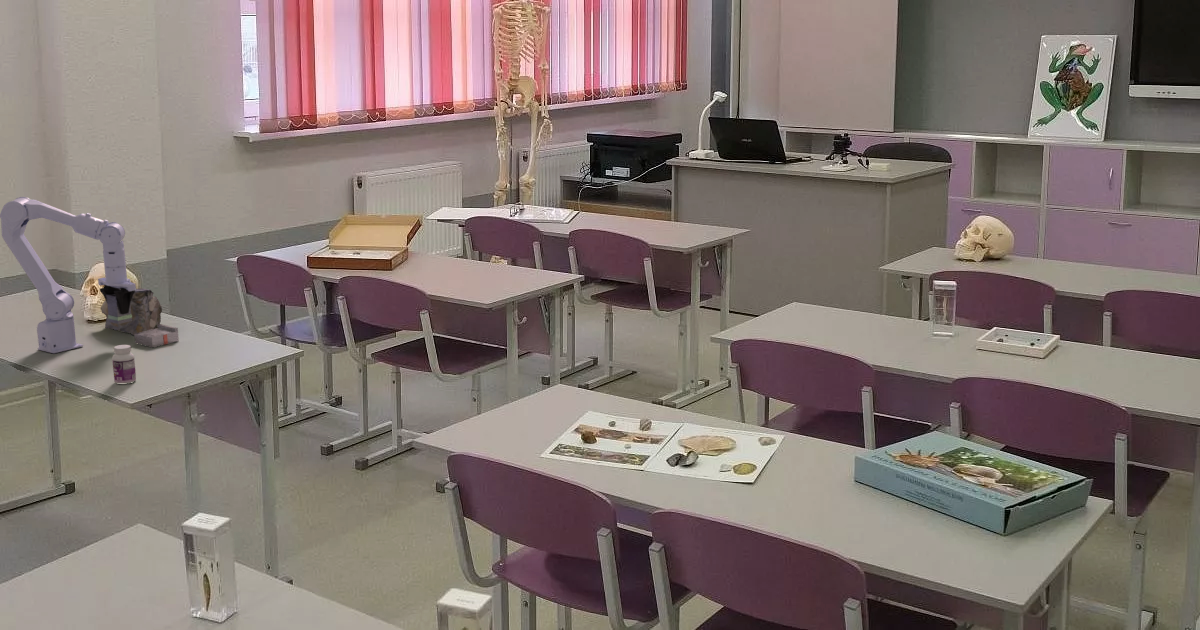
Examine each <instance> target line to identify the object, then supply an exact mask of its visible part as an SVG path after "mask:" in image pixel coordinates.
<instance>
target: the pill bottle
mask: <svg viewBox="0 0 1200 630" xmlns="http://www.w3.org/2000/svg"><path fill="white" fill-rule="evenodd" d="M131 347H132V346H131V345H130V344H119V345H115V346H114V348H113V350H114V351H113V352H114V354H113V355H112V357H111V360H112V361H111V362H112V371H113V380H114V384H116V383H131V382H134V381H135V382H136V381H137V374H136V373H137V372H136V362H135V355H134V354H133V353H132V348H131ZM135 382H134V383H135Z"/></svg>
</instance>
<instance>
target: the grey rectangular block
mask: <svg viewBox="0 0 1200 630" xmlns="http://www.w3.org/2000/svg"><path fill="white" fill-rule="evenodd" d="M106 297H107V305H108V319H109V322H112V323H116V324H121V323H125V322H130V321H132V314H131V305H130V308H129V313H127V314H121V312H120V309H119V303H118V300H117V297H116V295H115V293H112V294H107V295H106Z"/></svg>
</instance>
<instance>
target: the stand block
mask: <svg viewBox="0 0 1200 630" xmlns="http://www.w3.org/2000/svg"><path fill="white" fill-rule="evenodd" d="M157 326H158V328H156V329H152V330H147V331H143V332H139V333H135V334H134V344H135V343H138V344H137V345H139V344H142V345H141V346H143V345H146V346H145V347H147V346H150V347H149V348H152V347H154V348H157V346H158V347H161V346H165V345H169V344H173V343H177V342H179V340H180V338H179V327H175V326H170V325H166V324H162V323H160V324H158V325H157ZM160 345H161V346H160Z"/></svg>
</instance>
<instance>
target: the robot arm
mask: <svg viewBox="0 0 1200 630" xmlns="http://www.w3.org/2000/svg"><path fill="white" fill-rule="evenodd" d="M37 219H46V220H50V221H52V222H55V223H59V224H62V225H65V226H69V227H71V229H72V230H73V231H74V232H75V233H76V234H78V235H79V234H80V235H82V236H85V237H88V238H91V239H94V240H97V241H98V240H99V241H100V243H101V244H102V250H103V251H102V254H103V266H104V276H105V277H100V278H99V277H98V278H97V280H98V281H97V283H98V286H103V287H101V288H99V292H100V293H101V294H102V296H103V297H104V300H106V302H107V297H106V295H107V294H112V293H115V295H116V297H117V300H118V303H119V309H120V312H121V314H127V313H129V308H130V303H131V299H132V296H133V294H134V293H135V290H136V289H137V287H136V283H134V282H132V281H131V278H128V276H127V275H128V273H127V263H126V251H125V245H124V237H125V235H126V232H125V228H124V227H123V226H122V224H119V223H118V222H116V221H112V222H111V221H109V220H108V219H104V220H103V219H101V218H97V217H95V216H92V213H89V212H87V213H79V214H77V215H75V214H72V213H70V212H69V211H68V212H67V211H65V210H63V209H60V208H57V207H55V206H52V205H50V204H48V203H44V202H42V201H39V200H38V199H31V198H29V197H28V196H27V197H26V196H19V197H16V198H15V199H13V200H11V201H8V202H6V203H5V204H4V205H3V207H2V209H1V211H0V222H1V225H0V226H1V237H2V239H3V241H4V242H5V244H6V245H7V247H8V248H9V250H10V252H11V253H12V254H13V256H14V258H15V259H16V260H17V262H18V263H19V265H20V266H21V268H22V269H23V272H24V273H25V274H26V275H27V277H28V279H29V280H30V282H31V283H32V284H33V286H34V287H35V289H36V290H37V293H38V301H39V302H40V304H41V307H42V313H43V314H44V315H45V320H43V321H40V322H39V323H37V327H36V331H37V332H36V333H37V342H38V347H37V350H38V351H41V352H42V351H43V352H46V353H49V354H50V353H51V354H57V353H61V352H62V353H63V352H65V351H70V350H73V349H78V348H83V346H84V344H83V343H77V335H76V330H75V329H76V325H75V318H74V314H73V312H72V310H73V308H74V306H75V300H74V297H73V296H72V295H71V294H70V293H69V292H67V291H66V290H64V289H65V288H63V287H62V285H61V284H59V283H57V282H56V281H55V280H54V278H53V276H52V275H51V273H50V272H49V270H48V269H47V267H46V265H45V264H44V262H43V261H42V259H41V258H40V256H39V255H38V253H37V252H36V250H35V249H34V248H33V245H32V244H31V243H30V242H29V240H28V238H27V236H26V235H25V231H26V229H27V226H28V223H29V222H30V221H31V220H32V221H33V220H37Z"/></svg>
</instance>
